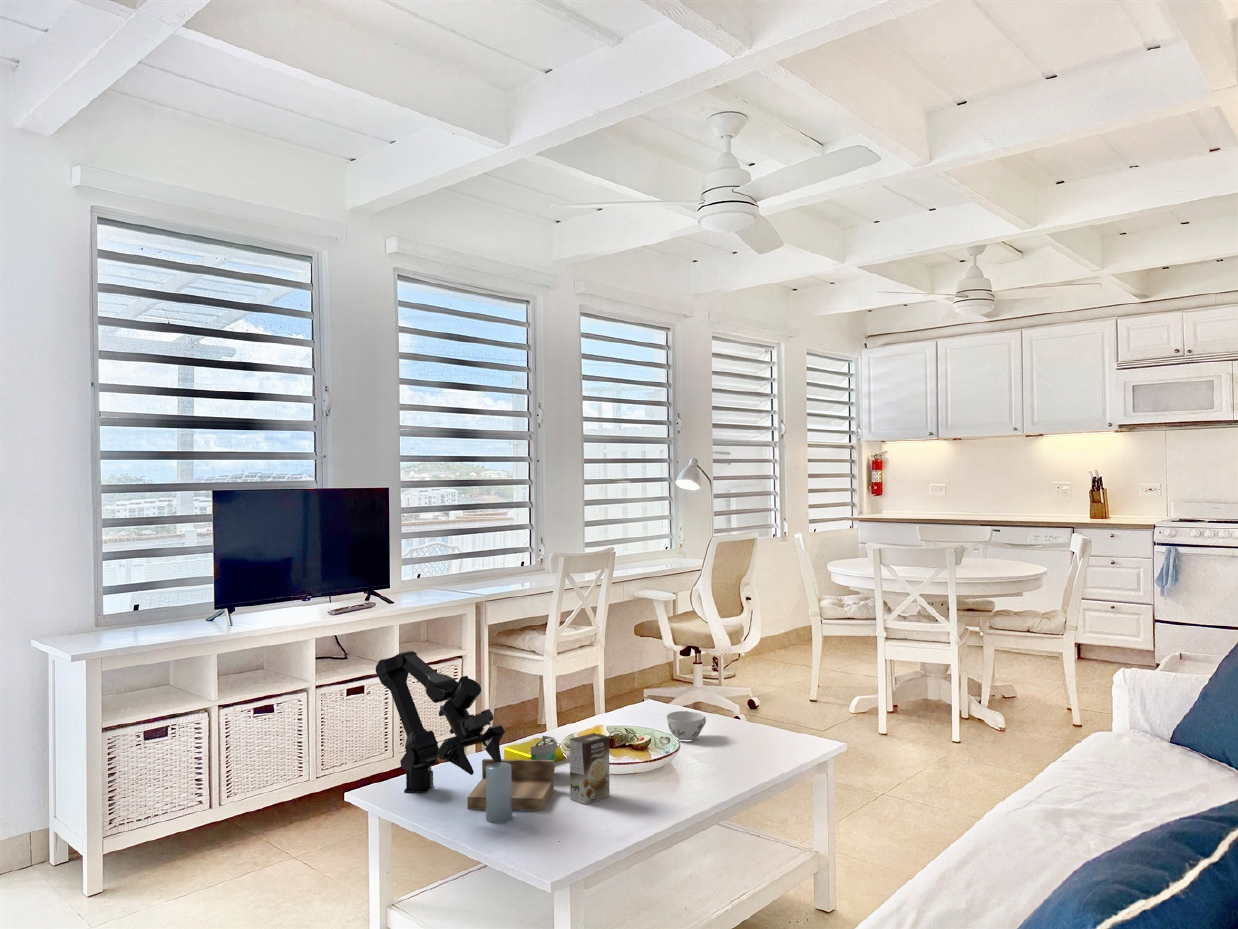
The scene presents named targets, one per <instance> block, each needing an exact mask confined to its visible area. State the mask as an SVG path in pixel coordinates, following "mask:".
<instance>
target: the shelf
mask: <svg viewBox="0 0 1238 929" xmlns="http://www.w3.org/2000/svg"><path fill="white" fill-rule="evenodd" d="M501 761H502V762H503V763H509V764H511V784H512V811H514V810H515V811H516V810H517V811H544V808H545V807H546V805H547V803H548V802H549V799H550V798H551V796H552V794H553V792H554V790H555V770H554V760H516V759H504V758H501ZM492 763H495V761H494V760H493V759H492V758H483V759H482V760H481V765H482V767H481V771H482V773H481V774H482V778H481V779H480V781H479V782H478V783H477V784H476V786H474V788H473V789H472V791H471V792H470V793H468V794H469V795H467V800H466V804H467V806H466V807H467V808H466V809H468V810H474V809H475V810H486V766H487V765H489V764H492Z"/></svg>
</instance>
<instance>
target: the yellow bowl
mask: <svg viewBox="0 0 1238 929" xmlns="http://www.w3.org/2000/svg"><path fill="white" fill-rule="evenodd" d="M541 740H542V737H534V738H530V739H527V740H523V741H520V742H516V743H512V744H509V745H506V746H504V748H503V759H516V760H531V747H535V746H536V744H537V743H538V742H540V741H541ZM561 744H562V743H560V742H557V745H558V749H557V750H556V752H555V764H556V763H559V762H562V761H565V760H567V759H566V757H565V756H564V755H563V753H562V751H561V748H560V745H561Z"/></svg>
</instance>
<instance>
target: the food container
mask: <svg viewBox="0 0 1238 929" xmlns="http://www.w3.org/2000/svg"><path fill="white" fill-rule="evenodd" d="M541 738H542V740H541V741H540V742H538V743H537V744H536V746H535V747H531V760H554V771H555V768H556V763H555V752H556V750H557V749H558V745H557V743H558V741H557V739H556V738H555V737H553V736H550V735H549V736H547V735H542V736H541Z"/></svg>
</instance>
